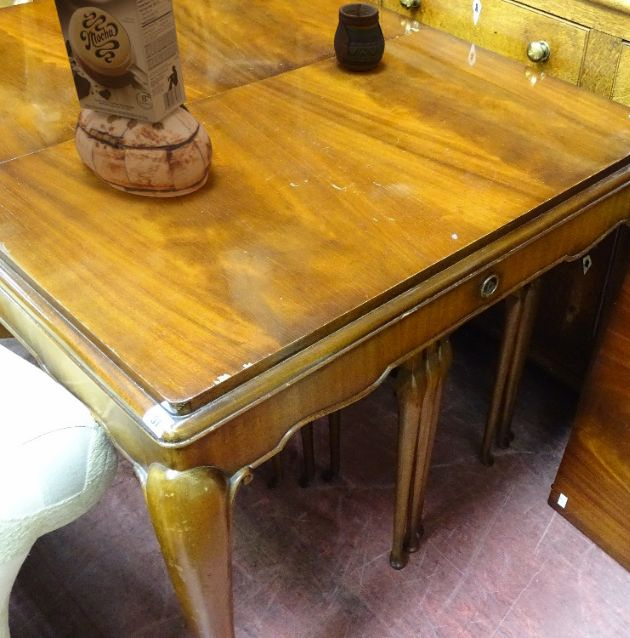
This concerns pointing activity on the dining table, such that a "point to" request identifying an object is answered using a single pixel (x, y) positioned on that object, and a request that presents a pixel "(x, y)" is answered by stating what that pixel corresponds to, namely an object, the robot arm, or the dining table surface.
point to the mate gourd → (359, 37)
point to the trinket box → (145, 152)
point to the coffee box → (123, 56)
